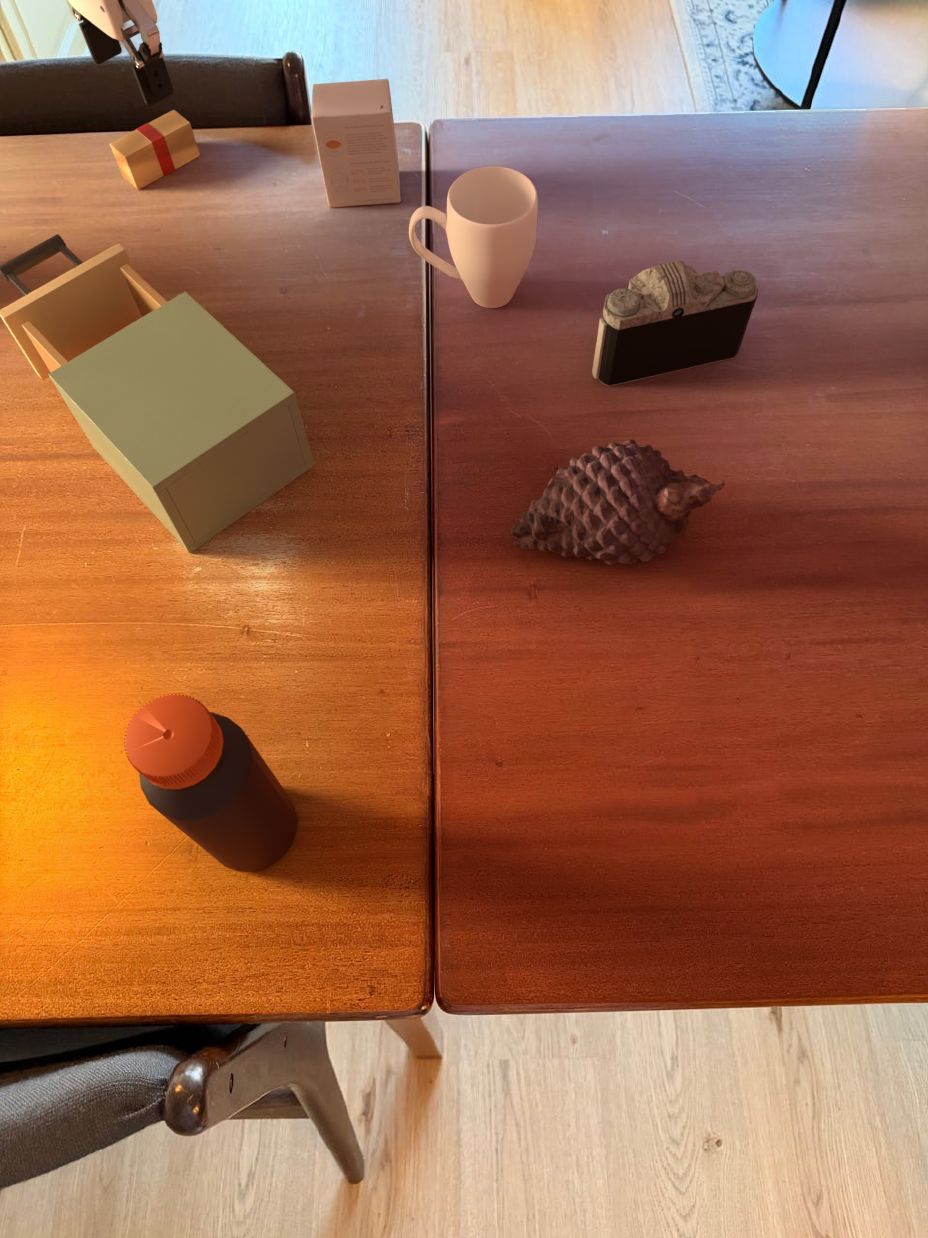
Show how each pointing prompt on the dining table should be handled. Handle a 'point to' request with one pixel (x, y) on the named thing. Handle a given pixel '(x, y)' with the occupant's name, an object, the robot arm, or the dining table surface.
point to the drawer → (74, 304)
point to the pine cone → (613, 506)
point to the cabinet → (187, 419)
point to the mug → (485, 232)
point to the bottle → (210, 782)
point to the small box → (356, 142)
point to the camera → (672, 322)
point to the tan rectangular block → (155, 149)
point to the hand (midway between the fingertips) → (134, 77)
